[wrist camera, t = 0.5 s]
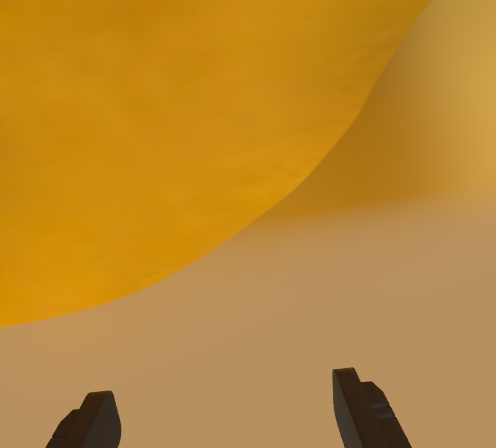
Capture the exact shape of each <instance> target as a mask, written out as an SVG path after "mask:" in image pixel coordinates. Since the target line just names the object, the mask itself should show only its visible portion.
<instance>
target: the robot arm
mask: <svg viewBox="0 0 496 448" xmlns="http://www.w3.org/2000/svg"><path fill="white" fill-rule="evenodd" d="M332 373H333V375H332V376H333V403H334V412H335V417H336V421H337V425H338V428H339V431H340V434H341V438H342V441H343V443H344V447H345V448H412V447H411V445H410V443H409V441H408V439H407V437H406V436H405V433H404V431H403V430H402V428H401V426H400V424H399V422H398V420H397V418H396V417H395V414H394V412H393V410H392V408H391V407H390V405H389V402H388V401H387V399H386V397H385V395H384V393H383V391H382V390H381V389H379V388H378V387H377V386H376V385H375V384H374V383H373V382H371V381H370V382H360V379H359V377H358V375H357V373H356V371H355V369H354V368H353V367H352V368H343V369H333V372H332ZM120 438H121V423H120V418H119V415H118V411H117V407H116V403H115V399H114V395H113V393H112V391H100V392H91V393H88V394H87V396H86V397H85V399H84V401H83V403H82V405H81V407H80V409H76V410H72V411H71V412H70V413H69V414H68V415H67V416H66V417H65V418H64V419H63V420H62V421H61V422H60V424H59V425H58V427H57V429H56V430H55V432H54V434H53V436H52V439H50V441H49V442H48V444H47V446H46V448H118V446H119V443H120Z"/></svg>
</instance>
